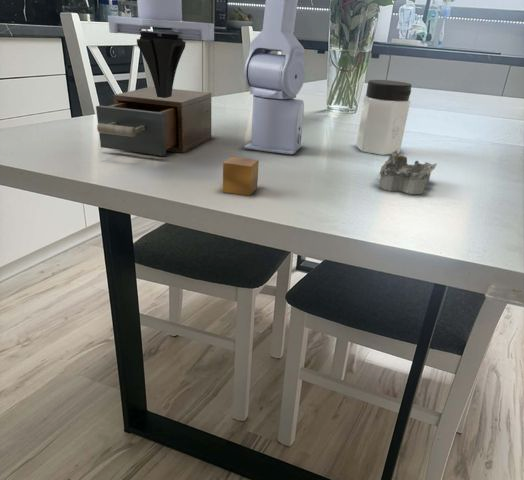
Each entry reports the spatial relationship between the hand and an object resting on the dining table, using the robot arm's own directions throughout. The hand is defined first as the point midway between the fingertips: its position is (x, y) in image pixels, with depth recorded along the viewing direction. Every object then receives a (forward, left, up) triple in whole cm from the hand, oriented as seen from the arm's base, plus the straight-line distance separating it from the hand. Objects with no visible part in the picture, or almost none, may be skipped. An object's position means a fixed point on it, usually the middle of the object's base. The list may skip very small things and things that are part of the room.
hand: (164, 96), depth 69 cm
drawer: (+9, -9, -9) cm, 16 cm away
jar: (-30, -34, -11) cm, 47 cm away
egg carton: (-36, -10, -11) cm, 39 cm away
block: (-13, +4, -10) cm, 17 cm away
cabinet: (+9, -19, -10) cm, 24 cm away
